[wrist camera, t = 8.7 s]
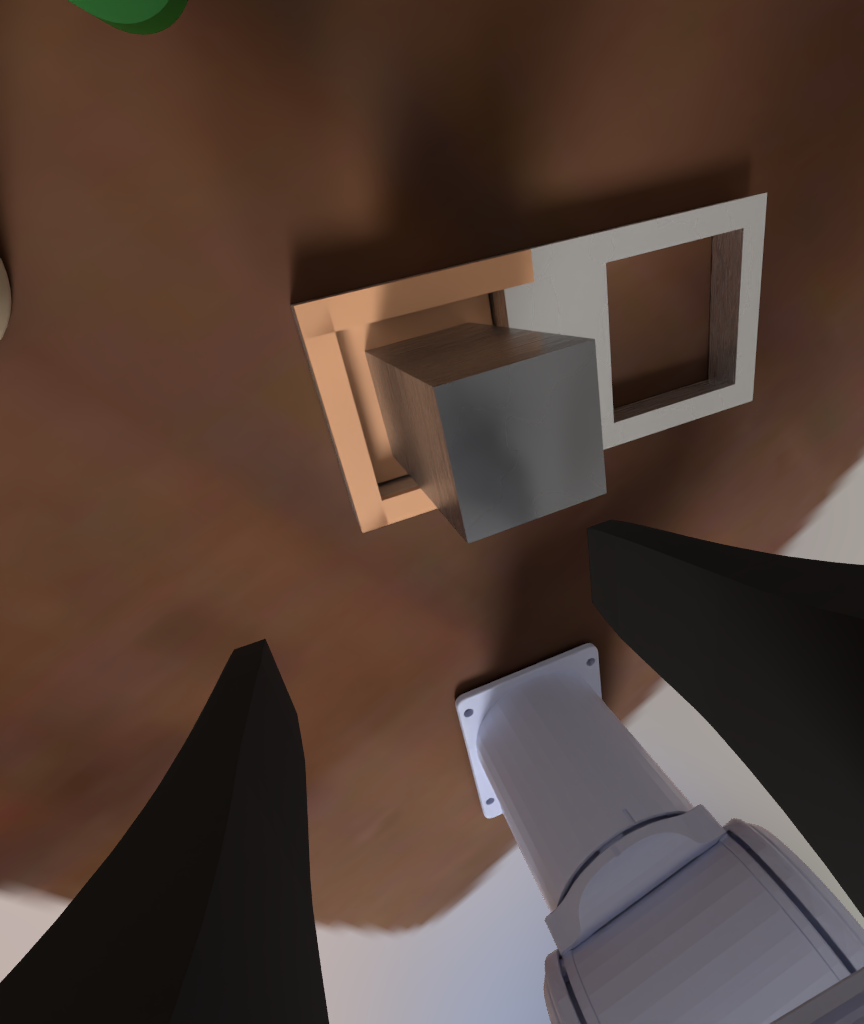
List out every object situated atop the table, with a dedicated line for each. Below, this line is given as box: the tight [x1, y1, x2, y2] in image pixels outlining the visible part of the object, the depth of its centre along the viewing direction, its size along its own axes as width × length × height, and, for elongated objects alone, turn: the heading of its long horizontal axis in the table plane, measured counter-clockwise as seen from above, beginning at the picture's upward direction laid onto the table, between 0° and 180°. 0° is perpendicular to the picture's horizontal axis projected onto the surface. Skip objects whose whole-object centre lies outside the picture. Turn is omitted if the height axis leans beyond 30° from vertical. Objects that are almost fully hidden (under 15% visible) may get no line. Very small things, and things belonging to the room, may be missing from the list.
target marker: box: [293, 249, 534, 533], centre depth 19 cm, size 8×8×2 cm
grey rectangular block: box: [365, 322, 607, 543], centre depth 16 cm, size 4×4×8 cm
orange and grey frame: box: [290, 193, 767, 528], centre depth 20 cm, size 8×18×2 cm, turn 102°
